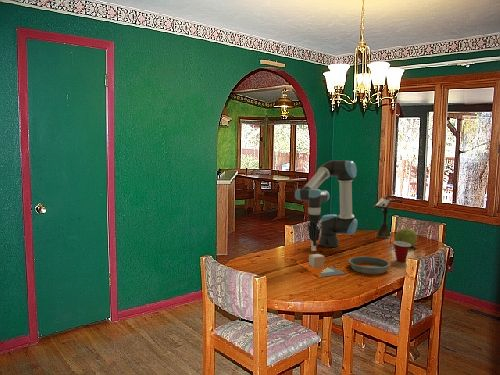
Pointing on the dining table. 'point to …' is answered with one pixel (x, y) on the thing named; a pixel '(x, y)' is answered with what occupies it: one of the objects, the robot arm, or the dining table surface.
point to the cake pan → (379, 268)
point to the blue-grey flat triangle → (331, 272)
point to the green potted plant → (406, 236)
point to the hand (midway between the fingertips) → (313, 250)
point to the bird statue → (384, 229)
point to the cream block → (316, 260)
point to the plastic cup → (401, 250)
